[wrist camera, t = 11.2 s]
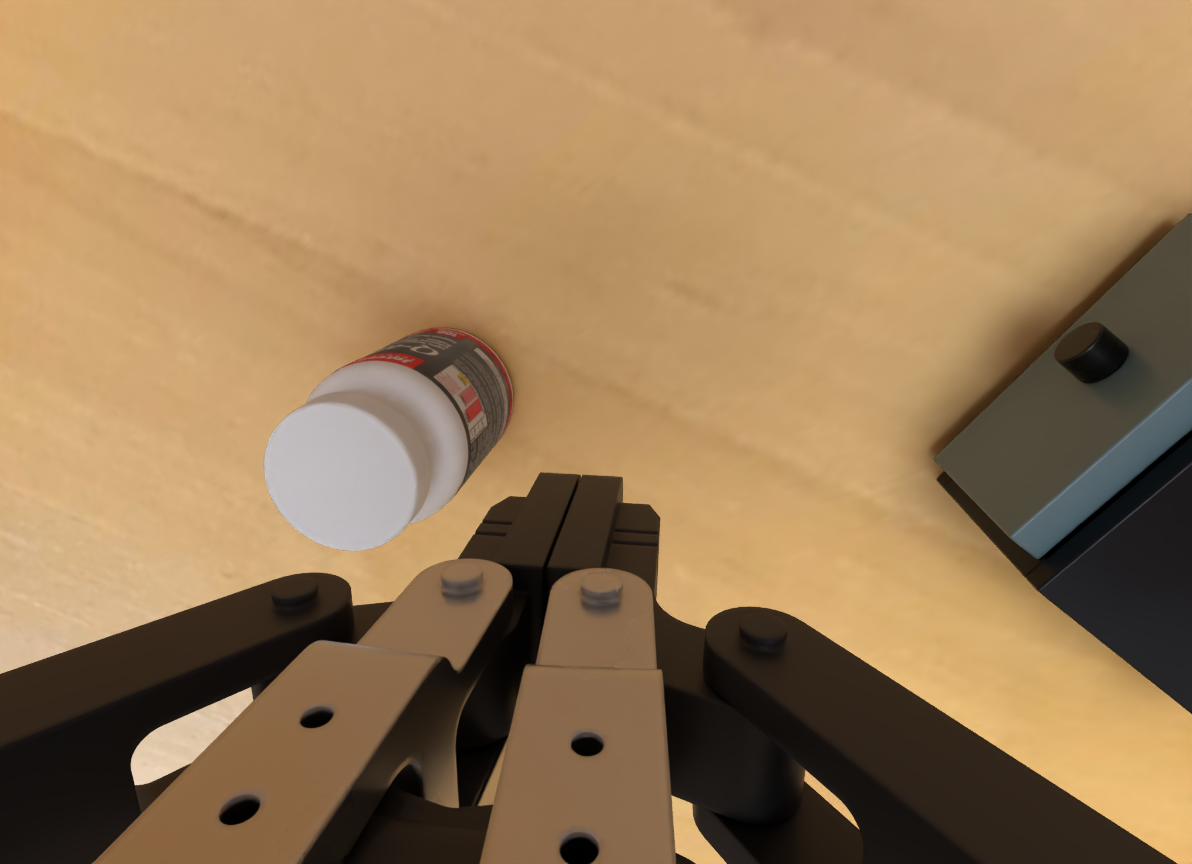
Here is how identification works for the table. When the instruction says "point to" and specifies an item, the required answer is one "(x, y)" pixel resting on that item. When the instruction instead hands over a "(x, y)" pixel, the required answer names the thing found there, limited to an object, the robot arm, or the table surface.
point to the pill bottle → (388, 438)
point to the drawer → (1088, 408)
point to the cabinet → (1123, 572)
